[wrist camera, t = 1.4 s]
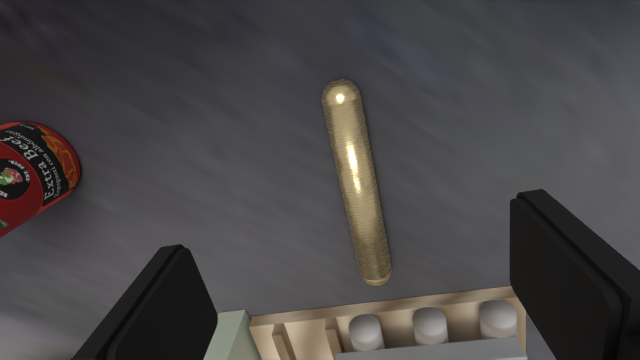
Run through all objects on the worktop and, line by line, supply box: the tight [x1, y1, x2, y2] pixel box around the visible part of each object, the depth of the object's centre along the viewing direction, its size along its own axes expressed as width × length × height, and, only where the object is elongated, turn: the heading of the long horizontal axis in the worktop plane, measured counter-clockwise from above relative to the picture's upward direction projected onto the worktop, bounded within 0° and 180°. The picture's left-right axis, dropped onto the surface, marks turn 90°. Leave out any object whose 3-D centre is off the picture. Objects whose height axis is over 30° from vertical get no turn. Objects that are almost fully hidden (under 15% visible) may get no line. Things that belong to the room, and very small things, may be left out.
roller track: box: [249, 286, 526, 360], centre depth 36 cm, size 27×10×4 cm, turn 103°
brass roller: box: [321, 79, 392, 286], centre depth 30 cm, size 3×19×3 cm, turn 13°
